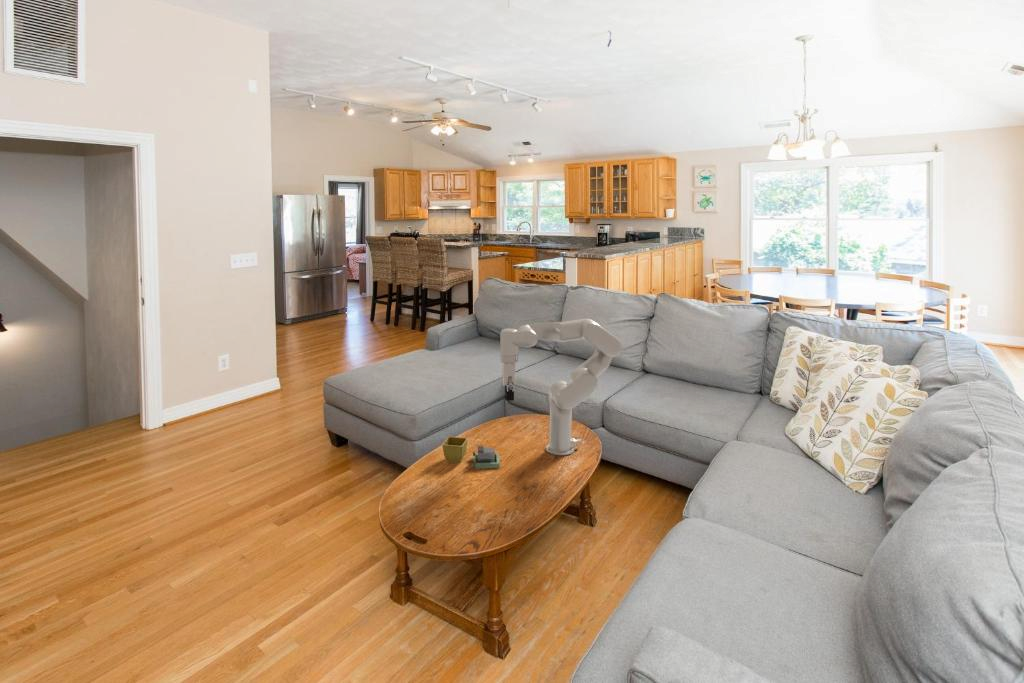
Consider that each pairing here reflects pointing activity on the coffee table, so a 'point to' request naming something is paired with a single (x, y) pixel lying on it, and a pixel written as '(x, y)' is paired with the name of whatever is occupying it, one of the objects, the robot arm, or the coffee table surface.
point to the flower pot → (454, 449)
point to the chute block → (486, 455)
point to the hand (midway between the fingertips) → (509, 396)
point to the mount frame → (485, 465)
